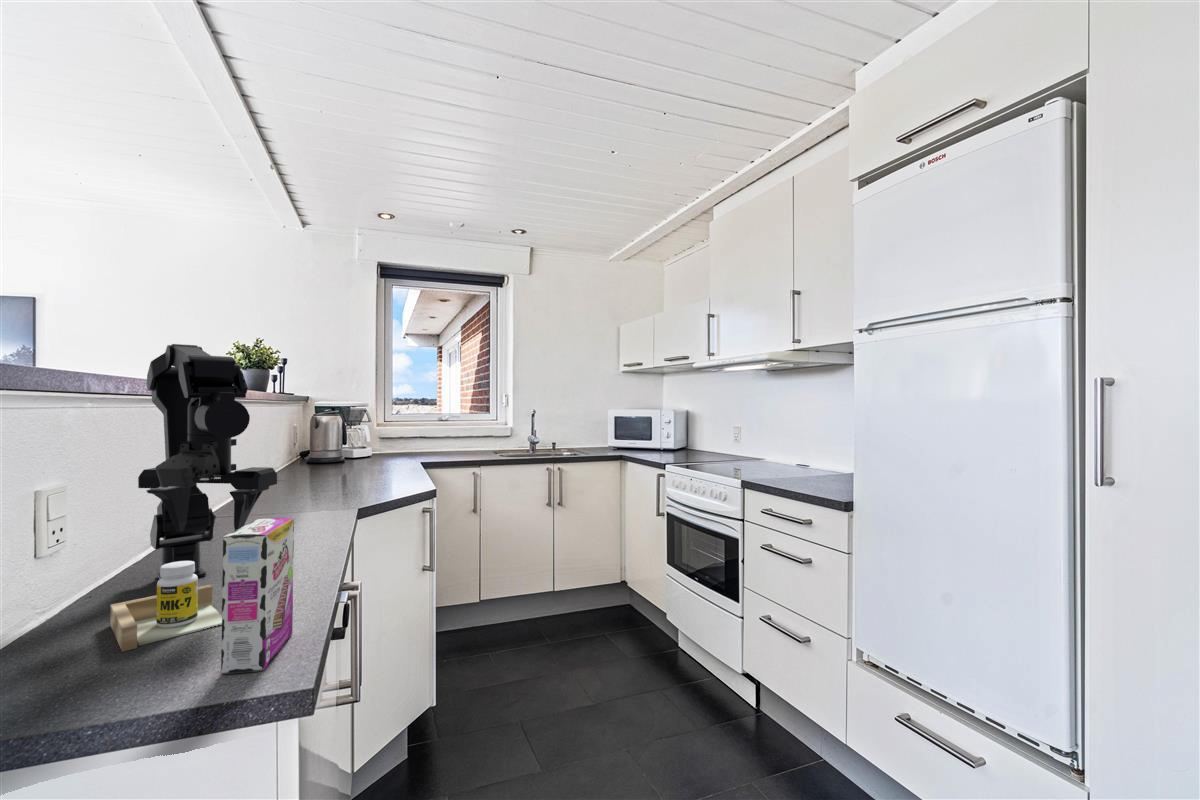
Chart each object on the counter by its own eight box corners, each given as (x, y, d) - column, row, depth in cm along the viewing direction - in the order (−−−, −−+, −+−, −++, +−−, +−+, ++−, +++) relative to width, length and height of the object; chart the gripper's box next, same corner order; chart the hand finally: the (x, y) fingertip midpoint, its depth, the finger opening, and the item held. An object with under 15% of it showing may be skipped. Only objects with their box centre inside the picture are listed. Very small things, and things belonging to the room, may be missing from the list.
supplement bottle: (154, 631, 77) (154, 571, 77) (158, 620, 81) (158, 563, 81) (197, 623, 80) (196, 565, 80) (198, 613, 84) (198, 557, 84)
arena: (110, 625, 80) (110, 604, 80) (209, 603, 89) (209, 584, 89) (122, 651, 72) (122, 628, 72) (230, 624, 80) (230, 603, 80)
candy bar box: (266, 671, 66) (266, 534, 66) (219, 676, 65) (219, 536, 65) (295, 633, 77) (295, 515, 77) (255, 637, 76) (255, 517, 76)
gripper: (106, 437, 81) (106, 544, 81) (235, 439, 81) (234, 546, 81) (166, 431, 92) (166, 525, 92) (279, 433, 92) (278, 527, 92)
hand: (209, 531), depth 89 cm, fingers open, 9 cm apart
